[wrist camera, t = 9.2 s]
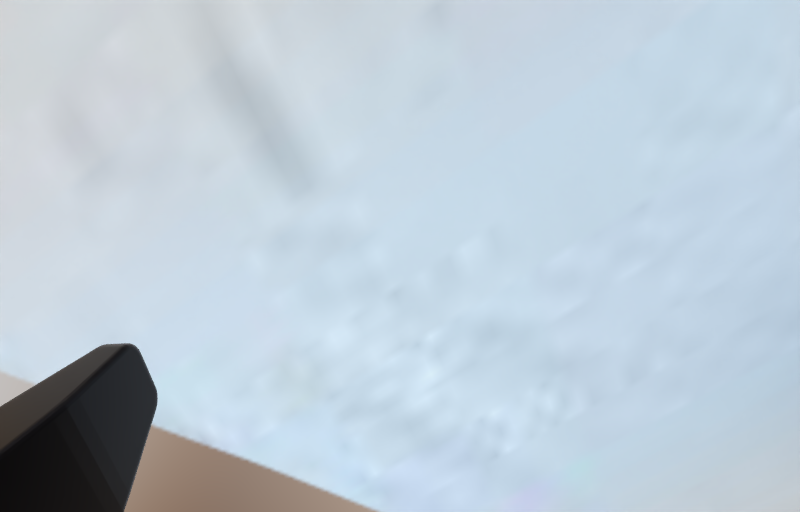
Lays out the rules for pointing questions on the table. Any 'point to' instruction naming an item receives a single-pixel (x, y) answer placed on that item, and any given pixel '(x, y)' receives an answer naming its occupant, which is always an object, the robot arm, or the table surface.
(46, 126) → the table surface
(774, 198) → the table surface
